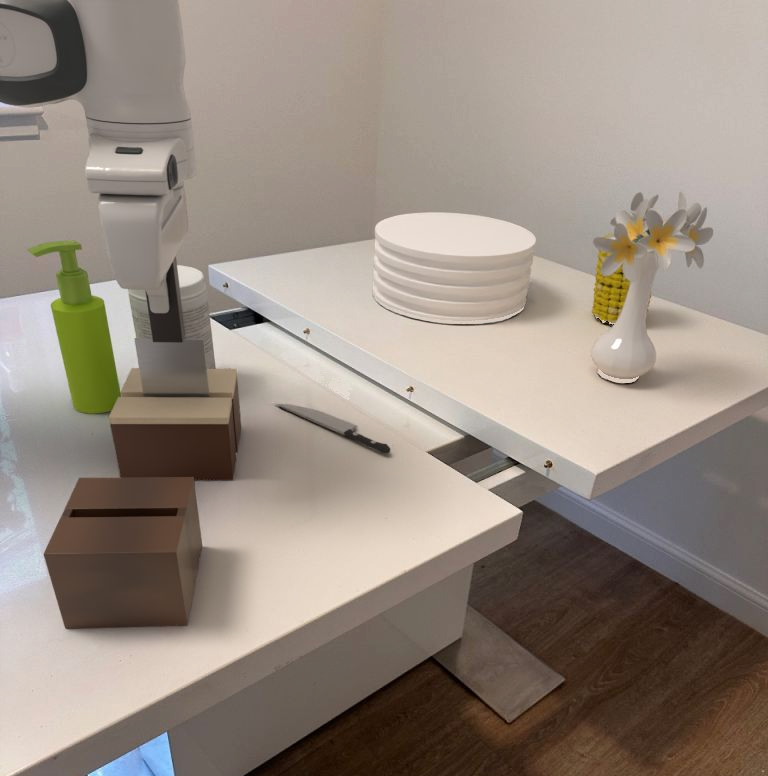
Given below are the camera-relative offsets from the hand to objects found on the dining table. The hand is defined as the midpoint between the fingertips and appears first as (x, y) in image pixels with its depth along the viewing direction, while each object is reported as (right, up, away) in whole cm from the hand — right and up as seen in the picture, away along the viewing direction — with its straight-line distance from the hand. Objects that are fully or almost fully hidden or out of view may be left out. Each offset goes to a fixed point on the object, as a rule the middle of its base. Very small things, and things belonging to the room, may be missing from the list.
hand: (163, 304), depth 72 cm
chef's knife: (+16, -10, +18) cm, 26 cm away
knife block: (0, -27, -8) cm, 28 cm away
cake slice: (-1, -16, +8) cm, 18 cm away
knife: (-1, -11, +8) cm, 14 cm away
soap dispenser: (-15, -7, +19) cm, 26 cm away
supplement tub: (-5, -4, +25) cm, 26 cm away
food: (+63, +13, +54) cm, 84 cm away
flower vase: (+57, -1, +34) cm, 66 cm away
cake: (-1, -12, +13) cm, 18 cm away
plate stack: (+34, +18, +59) cm, 71 cm away
